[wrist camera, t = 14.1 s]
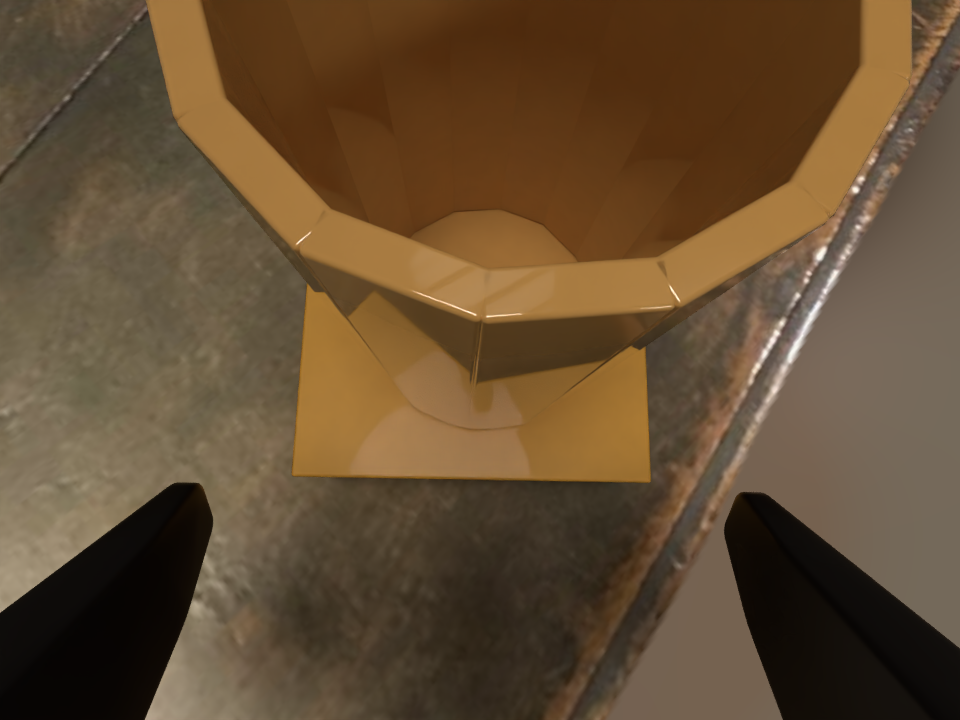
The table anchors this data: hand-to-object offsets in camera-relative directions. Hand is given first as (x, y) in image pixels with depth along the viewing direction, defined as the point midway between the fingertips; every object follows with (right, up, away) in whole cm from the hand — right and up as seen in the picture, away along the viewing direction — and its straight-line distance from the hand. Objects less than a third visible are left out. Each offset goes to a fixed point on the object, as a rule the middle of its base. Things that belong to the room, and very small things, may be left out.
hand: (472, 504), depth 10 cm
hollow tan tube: (0, +4, +9) cm, 10 cm away
